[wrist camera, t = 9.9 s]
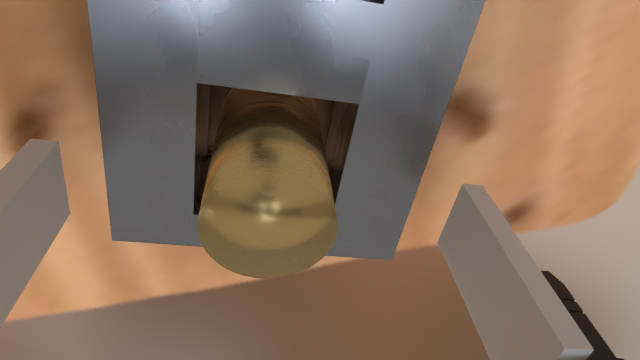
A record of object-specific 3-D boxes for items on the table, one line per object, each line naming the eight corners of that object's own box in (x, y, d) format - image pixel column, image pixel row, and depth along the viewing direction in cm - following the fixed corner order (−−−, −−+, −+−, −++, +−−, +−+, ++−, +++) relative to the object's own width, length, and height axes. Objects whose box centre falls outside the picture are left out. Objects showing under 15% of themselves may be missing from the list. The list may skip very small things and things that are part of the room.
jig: (110, -363, 12) (38, -468, 8) (508, -249, 14) (591, -294, 10) (139, 179, 22) (112, 240, 18) (373, 201, 24) (391, 260, 20)
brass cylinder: (225, 64, 19) (200, 163, 13) (325, 79, 20) (351, 180, 13) (218, 151, 21) (194, 273, 15) (308, 162, 22) (323, 282, 16)
